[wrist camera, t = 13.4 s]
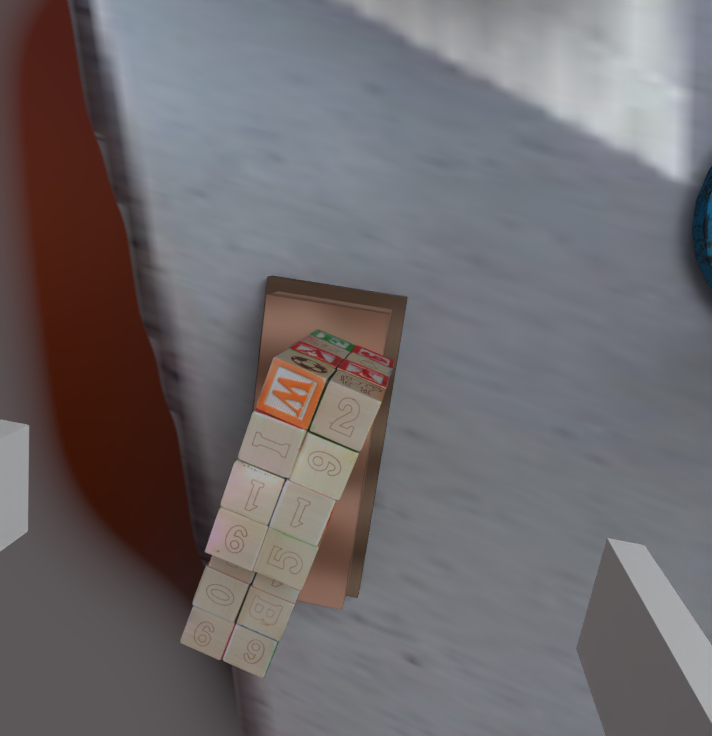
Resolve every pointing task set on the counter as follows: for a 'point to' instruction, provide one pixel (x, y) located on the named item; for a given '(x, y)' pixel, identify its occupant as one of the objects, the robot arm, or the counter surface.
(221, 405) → the counter surface
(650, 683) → the robot arm
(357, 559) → the base brick
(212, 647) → the stack of blocks
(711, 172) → the desk lamp
